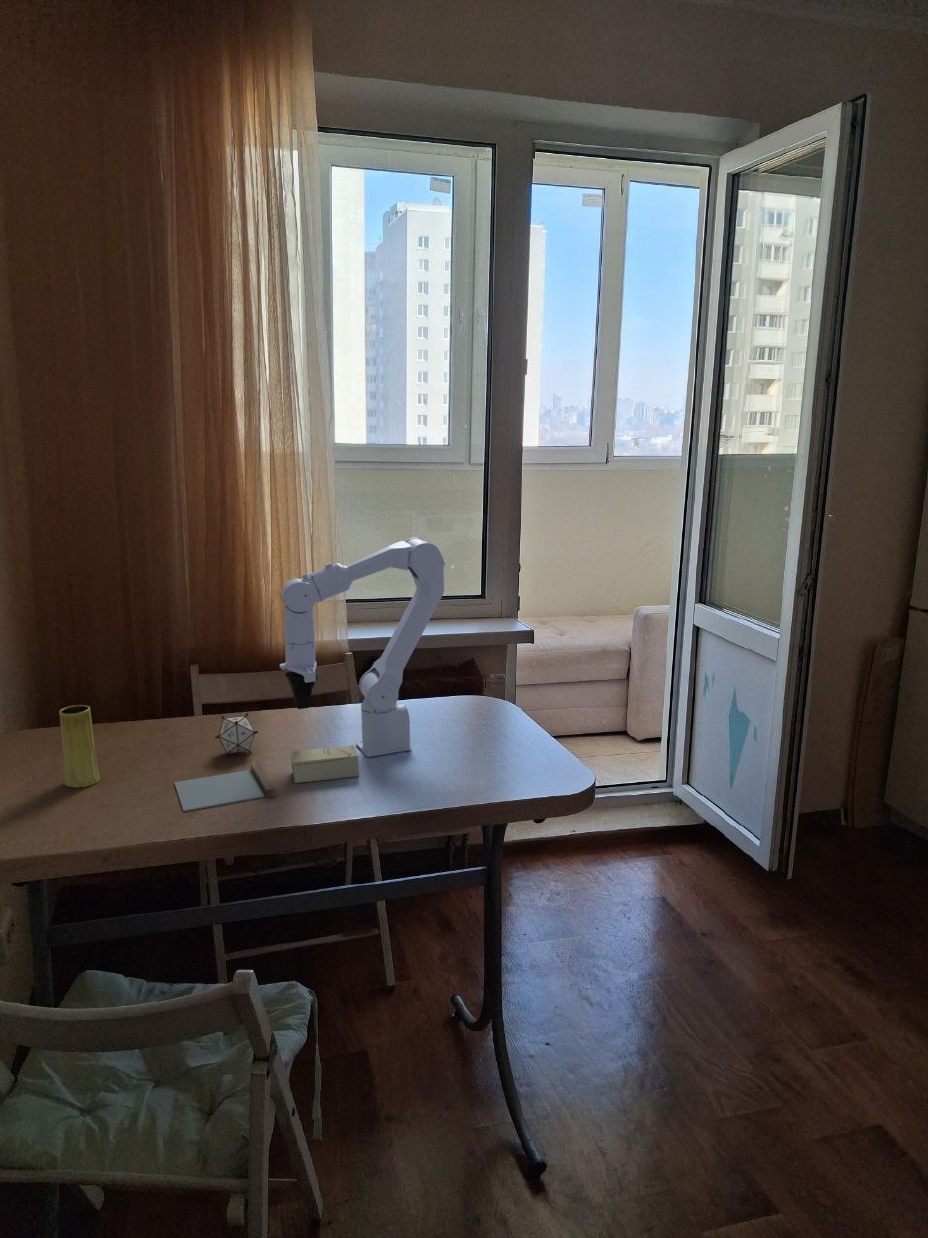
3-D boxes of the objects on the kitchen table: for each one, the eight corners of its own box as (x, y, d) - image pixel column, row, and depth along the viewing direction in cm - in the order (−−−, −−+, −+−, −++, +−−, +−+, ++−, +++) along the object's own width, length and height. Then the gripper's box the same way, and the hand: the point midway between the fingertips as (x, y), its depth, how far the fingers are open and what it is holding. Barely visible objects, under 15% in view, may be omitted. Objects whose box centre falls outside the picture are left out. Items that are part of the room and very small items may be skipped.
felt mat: (250, 771, 167) (250, 769, 167) (264, 797, 155) (264, 795, 155) (174, 784, 161) (174, 782, 161) (183, 812, 150) (183, 810, 150)
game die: (243, 773, 175) (243, 746, 168) (206, 756, 176) (204, 729, 169) (265, 739, 181) (266, 712, 174) (229, 723, 182) (229, 696, 175)
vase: (107, 777, 164) (99, 705, 161) (83, 790, 159) (75, 716, 156) (81, 773, 166) (73, 702, 163) (57, 786, 161) (48, 712, 157)
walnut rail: (259, 768, 168) (258, 761, 168) (275, 796, 156) (274, 788, 155) (251, 770, 168) (250, 762, 167) (266, 798, 155) (266, 790, 155)
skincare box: (290, 751, 166) (353, 743, 169) (291, 772, 167) (354, 764, 170) (293, 763, 160) (358, 754, 163) (294, 785, 161) (360, 776, 164)
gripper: (270, 634, 173) (274, 699, 176) (288, 652, 160) (291, 721, 163) (305, 631, 176) (308, 695, 179) (325, 648, 163) (327, 716, 166)
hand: (302, 707), depth 171 cm, fingers closed
